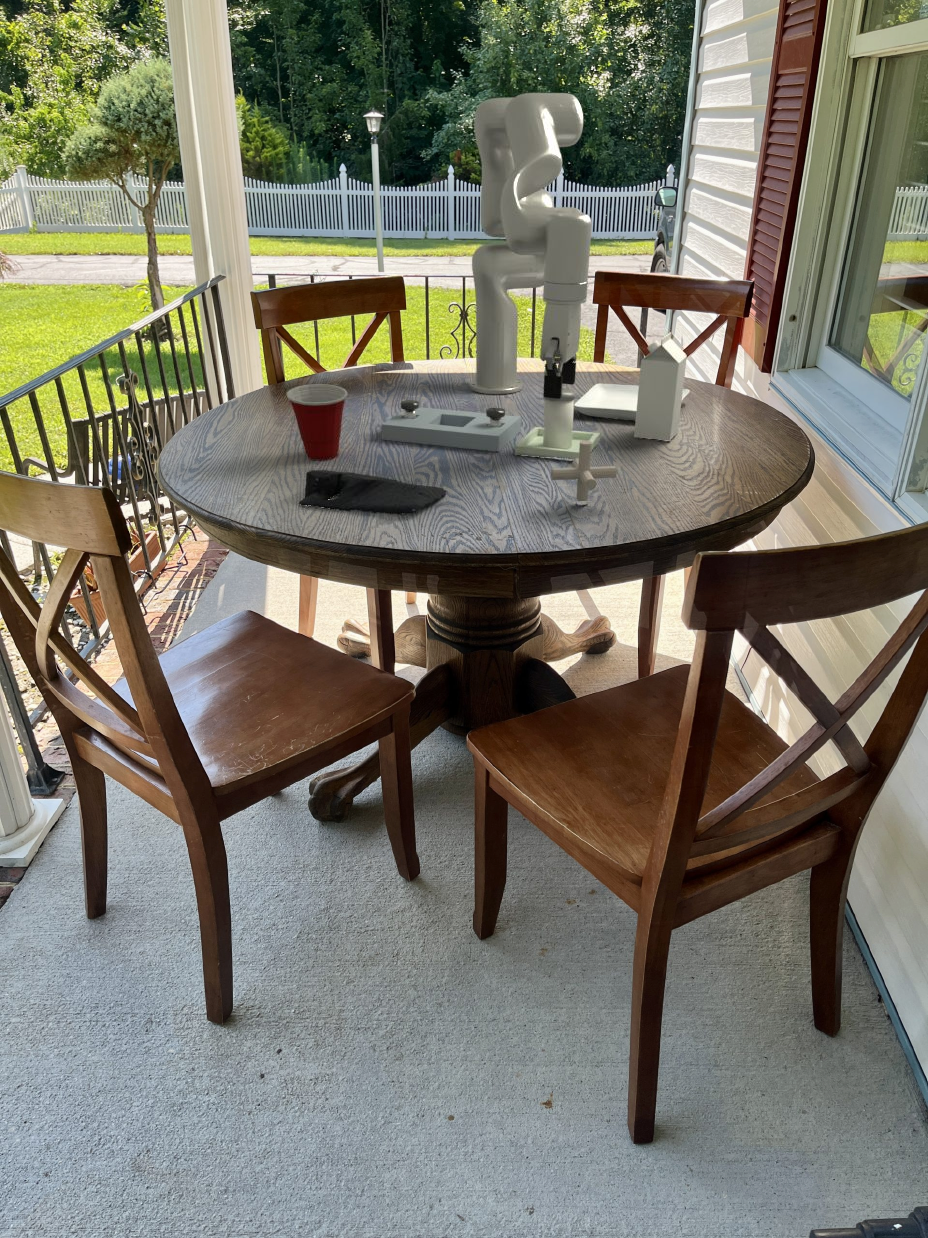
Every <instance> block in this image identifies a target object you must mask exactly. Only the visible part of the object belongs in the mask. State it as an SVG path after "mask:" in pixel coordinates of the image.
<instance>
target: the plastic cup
mask: <svg viewBox="0 0 928 1238" xmlns="http://www.w3.org/2000/svg"><path fill="white" fill-rule="evenodd" d="M348 395H349V393H348V391H347V390H346V389H345V388H343V387H341V386H337V385H333V384H326V383H325V384H323V383H316V384H315V383H314V384H312V383H311V384H304V385H299V386H296V387H293V388H290V389H289V390H288V391H287V392H286V397H287V399H288V400H289V402H290V404H291V408H292V410H293V413H294V416H295V419H296V423H297V427H298V431H299V434H300V438H301V441H302V444H303V448H304V451H305V455H306V457H307V458H308V459H309V458H310V459H309V460H313V459H314V461H329V460H331V459H335V458H337V457H338V456H339V452H340V438H341V432H342V422H343V411H344V406H345V401H346V398H347V396H348Z"/></svg>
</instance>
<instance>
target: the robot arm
mask: <svg viewBox="0 0 928 1238" xmlns="http://www.w3.org/2000/svg"><path fill="white" fill-rule="evenodd" d="M579 101H580V100H578V98H577V97H576V96H575V95H574V94H571V93H565V92H525V93H521V94H518V95H517V96H515V97H494V98H489V99H485V100H483V101H482V102H480V103H479V105H477V108H476V110H475V112H474V113H475V114H474V125H473V128H474V136H475V141H476V145H477V149H478V153H479V156H480V162H481V184H480V185H481V191H480V192H481V193H480V226H481V229H482V232H483V233H484V235H486V236H489V237H490V238H505V241H506V242H492V243H491V242H490V243H487V244H486V243H485V244H483V245H481V246H479V247H478V248H476V250H475V251H474V252H473V255H472V258H471V268H472V271H471V272H472V277H473V284H474V293H475V316H476V318H475V319H476V322H475V330H476V331H475V342H476V343H475V348H476V350H475V351H476V353H475V355H476V360H475V361H476V363H475V364H476V365H475V366H476V368H475V369H476V373H475V374H476V377H475V378H476V379H474V380H472V381H470V382H469V389H470V390H471V391H473V392H475V393H479V394H486V395H505V394H506V395H507V394H513V393H517V392H519V391H521V390H523V388H524V383H523V381H521V380H519V379H517V375H518V374H517V371H518V366H517V363H518V362H517V361H518V329H519V327H518V326H519V325H518V324H519V323H518V322H519V320H518V319H519V313H518V311H519V310H518V307H517V305H516V303H515V302H514V300H513V299H512V298H511V296H510V295H509V294H508V291H509V290H517V289H518V290H520V289H538V288H542V287H543V290H542V291H543V292H542V301H543V302H545V308H544V313H543V321H542V329H541V330H542V331H541V341H540V343H541V344H540V354H539V358H540V360H541V361H542V362H545V364H544V372H543V374H544V376H543V379H544V380H543V392H542V396H544V397H545V398H555V399H560V398H561V395H562V388H563V384H564V385H572V386H573V385H575V384H576V372H577V370H576V369H577V353H578V352H579V345H580V338H581V337H580V335H581V318H582V313H581V312H582V304H584V303H586V302H587V297H588V296H587V295H588V282H589V280H588V279H589V268H590V253H591V239H592V224H593V223H592V220H591V217H590V216H589V215H588V214H587V213H586V214H585V213H583V212H582V211H581V210H580V209H578V208H576V207H571V206H567V207H566V206H563V207H562V206H560V207H555V203H554V200H553V196H552V194H551V193H550V192H549V191H548V190H546V189H545V188H546V187H548V186H549V185H551V184H552V183H553V182H554V181H555V180H557V178H558V177H559V175H560V173H561V171H562V168H563V157H562V153H561V150H560V148H565V147H566V148H567V147H571V146H574V145H575V144H577V143H578V141H579V139H580V138H581V136H582V133H583V129H584V128H583V127H584V114H583V113H584V112H583V108H582V106H581V104H580V102H579Z"/></svg>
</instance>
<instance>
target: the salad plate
mask: <svg viewBox="0 0 928 1238" xmlns="http://www.w3.org/2000/svg"><path fill="white" fill-rule="evenodd" d="M638 389H639V385H633V384H632V385H631V384H630V385H629V384H614V383H596V384H594V385H593V386H592V387H590V388H589V390H588V391H587V392H586V393H584V395H583V396H581V397H580V398H579V399H578V400H577V401H575V403H574V409H575V410H576V411H577V412H579V413H580V414H582V415H584V416H588V417H593V416H594V417H593V418H599V417H606V418H605V419H609V418H617V419H616V420H619V419H627V420H626V421H629V420H636V411H637V400H638ZM689 394H690V389H684V388H683V393H682V402H683V400H685V399H686V398H687V396H688V395H689Z"/></svg>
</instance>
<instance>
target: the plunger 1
mask: <svg viewBox="0 0 928 1238" xmlns="http://www.w3.org/2000/svg"><path fill="white" fill-rule="evenodd" d="M419 407H420V402H419V400H413V399H406V400H402V401H400V409H402V410H403V411H405V418H409V419H415V418H416V410H415V409H418V408H419Z"/></svg>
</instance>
